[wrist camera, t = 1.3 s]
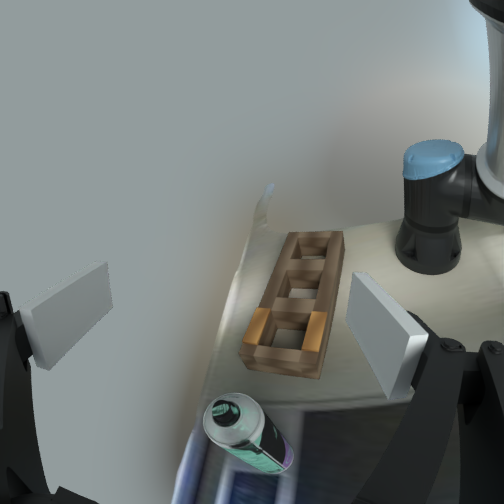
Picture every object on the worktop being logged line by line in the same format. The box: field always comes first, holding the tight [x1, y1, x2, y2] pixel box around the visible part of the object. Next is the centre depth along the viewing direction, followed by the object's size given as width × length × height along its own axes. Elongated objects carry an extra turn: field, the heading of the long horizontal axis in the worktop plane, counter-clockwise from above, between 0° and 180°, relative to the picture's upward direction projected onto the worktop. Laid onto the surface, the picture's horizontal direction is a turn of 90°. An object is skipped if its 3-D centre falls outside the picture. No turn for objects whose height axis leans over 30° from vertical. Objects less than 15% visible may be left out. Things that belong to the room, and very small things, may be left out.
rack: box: [238, 231, 345, 379], centre depth 52 cm, size 12×31×6 cm, turn 160°
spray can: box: [203, 393, 294, 474], centre depth 26 cm, size 6×6×20 cm
